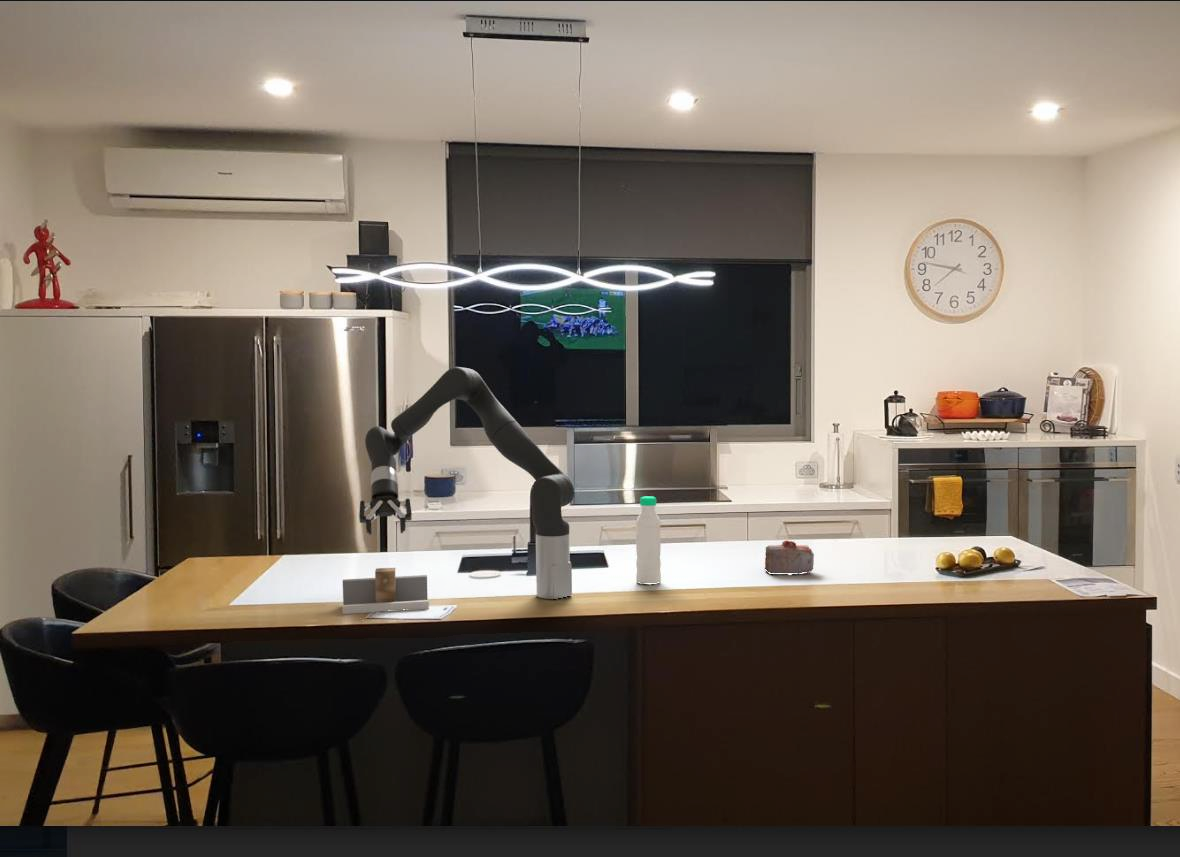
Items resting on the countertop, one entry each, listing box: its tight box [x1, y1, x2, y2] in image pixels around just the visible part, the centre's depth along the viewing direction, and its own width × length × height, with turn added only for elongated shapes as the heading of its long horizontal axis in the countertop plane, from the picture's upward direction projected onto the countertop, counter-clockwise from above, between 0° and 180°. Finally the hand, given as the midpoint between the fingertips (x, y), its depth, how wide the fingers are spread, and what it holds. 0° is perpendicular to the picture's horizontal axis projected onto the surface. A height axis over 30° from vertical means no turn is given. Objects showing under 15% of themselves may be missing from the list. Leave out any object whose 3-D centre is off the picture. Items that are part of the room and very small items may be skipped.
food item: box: [764, 540, 815, 574], centre depth 296 cm, size 14×8×10 cm, turn 94°
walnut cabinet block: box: [374, 567, 396, 603], centre depth 261 cm, size 5×5×10 cm
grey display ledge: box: [341, 574, 430, 615], centre depth 261 cm, size 22×9×7 cm, turn 102°
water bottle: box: [635, 495, 662, 583], centre depth 285 cm, size 7×7×25 cm
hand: (386, 532), depth 272 cm, fingers open, 8 cm apart
